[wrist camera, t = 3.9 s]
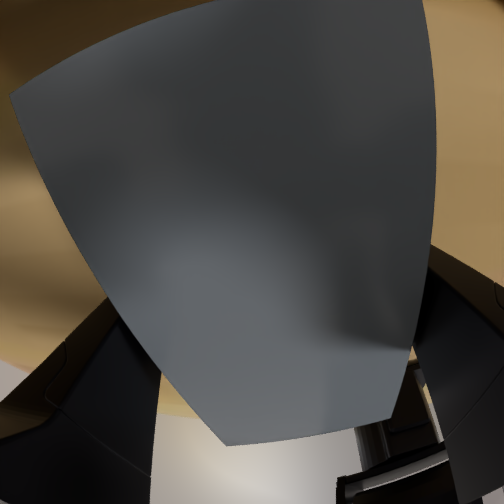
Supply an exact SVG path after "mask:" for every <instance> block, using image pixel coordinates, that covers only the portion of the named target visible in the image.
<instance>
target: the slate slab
mask: <svg viewBox="0 0 504 504" xmlns="http://www.w3.org/2000/svg"><path fill="white" fill-rule="evenodd" d="M9 97H10V99H11V102H12V105H13V108H14V111H15V114H16V116H17V119H18V122H19V124H20V127H21V130H22V132H23V135H24V137H25V140H26V142H27V145H28V147H29V150H30V152H31V154H32V157H33V159H34V161H35V163H36V166H37V168H38V170H39V172H40V175H41V177H42V179H43V181H44V183H45V185H46V187H47V190H48V192H49V194H50V196H51V198H52V200H53V202H54V204H55V206H56V208H57V210H58V212H59V214H60V216H61V217H62V219H63V221H64V223H65V225H66V227H67V229H68V231H69V232H70V234H71V236H72V238H73V240H74V241H75V243H76V245H77V247H78V249H79V250H80V252H81V254H82V256H83V257H84V259H85V261H86V262H87V264H88V266H89V267H90V269H91V271H92V272H93V274H94V276H95V277H96V279H97V280H98V282H99V284H100V285H101V287H102V288H103V290H104V292H105V293H106V295H107V296H108V298H109V299H110V301H111V302H112V304H113V305H114V307H115V308H116V310H117V311H118V313H119V314H120V316H121V317H122V319H123V320H124V322H125V323H126V324H127V326H128V327H129V329H130V330H131V332H132V333H133V334H134V336H135V337H136V339H137V340H138V341H139V343H140V344H141V345H142V347H143V348H144V349H145V351H146V352H147V353H148V355H149V356H150V357H151V359H152V360H153V361H154V363H155V364H156V365H157V367H158V368H159V369H160V370H161V372H162V373H163V374H164V376H165V377H166V378H167V379H168V381H169V382H170V383H171V384H172V385H173V387H174V388H175V389H176V390H177V392H178V393H179V394H180V395H181V396H182V398H183V399H184V400H185V401H186V402H187V403H188V405H189V406H190V407H191V408H192V409H193V410H194V412H195V413H196V414H197V415H198V416H199V417H200V418H201V419H202V421H203V422H204V423H205V424H206V425H207V426H208V427H209V428H210V429H211V431H212V432H213V433H214V434H215V435H216V436H217V437H218V438H219V439H220V440H221V441H222V442H223V443H224V444H225V445H226V446H236V445H247V444H258V443H267V442H275V441H283V440H290V439H297V438H303V437H309V436H314V435H320V434H325V433H330V432H335V431H340V430H345V429H349V428H354V427H358V426H362V425H366V424H370V423H374V422H378V421H382V420H385V419H389V418H391V415H392V412H393V410H394V406H395V403H396V400H397V397H398V394H399V391H400V387H401V384H402V381H403V377H404V374H405V370H406V367H407V363H408V359H409V355H410V351H411V347H412V343H413V339H414V335H415V331H416V326H417V322H418V317H419V312H420V307H421V302H422V296H423V291H424V285H425V279H426V273H427V266H428V259H429V252H430V244H431V235H432V225H433V214H434V201H435V184H436V108H435V91H434V78H433V68H432V59H431V51H430V43H429V36H428V30H427V24H426V18H425V13H424V8H423V3H422V0H215V1H211V2H208V3H204V4H200V5H197V6H193V7H190V8H186V9H183V10H180V11H177V12H174V13H170V14H167V15H165V16H162V17H159V18H156V19H153V20H150V21H148V22H145V23H142V24H140V25H137V26H135V27H132V28H130V29H127V30H125V31H123V32H120V33H118V34H116V35H113V36H111V37H109V38H107V39H105V40H102V41H100V42H98V43H96V44H94V45H92V46H90V47H88V48H86V49H84V50H82V51H80V52H78V53H76V54H74V55H72V56H70V57H69V58H67V59H65V60H63V61H61V62H60V63H58V64H56V65H54V66H53V67H51V68H49V69H48V70H46V71H44V72H43V73H41V74H39V75H38V76H36V77H35V78H33V79H31V80H30V81H28V82H27V83H25V84H24V85H22V86H21V87H19V88H18V89H16V90H15V91H13V92H12V93H11V94H9Z"/></svg>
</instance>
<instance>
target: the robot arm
mask: <svg viewBox="0 0 504 504" xmlns="http://www.w3.org/2000/svg"><path fill="white" fill-rule="evenodd" d="M412 346H413V348H414V351H415V354H416V356H417V359H418V362H419V364H417V365H413V366H409V367H406V370H405V374H404V377H403V381H402V384H401V387H400V391H399V394H398V397H397V400H396V403H395V406H394V410H393V412H392V415H391V418H389V419H385V420H382V421H378V422H374V423H370V424H366V425H362V426H358V427H354V431H355V435H356V440H357V445H358V450H359V455H360V461H361V465H362V471H363V472H360V473H356V474H353V475H349V476H346V475H345V476H341V477H338V478H337V482H336V484H337V487H336V504H483V500H482V496H484V495H486V494H488V493H490V492H492V491H494V490H496V489H498V488H500V487H502V488H503V492H504V287H502V286H501V285H499V284H498V283H496V282H495V283H494V281H493V280H491V279H489V278H488V277H486V276H485V275H483V274H481V273H480V272H478V271H476V270H475V269H473V268H471V267H470V266H468V265H466V264H465V263H463V262H461V261H459V260H458V259H456V258H454V257H453V256H451V255H449V254H447V253H446V252H444V251H442V250H440V249H438V248H437V247H435V246H433V245H431V244H430V252H429V259H428V266H427V273H426V279H425V285H424V291H423V296H422V302H421V307H420V312H419V317H418V322H417V326H416V331H415V335H414V339H413V343H412ZM161 373H162V372H161V370H160V369H159V368H158V367H157V365H156V364H155V363H154V361H153V360H152V359H151V357H150V356H149V355H148V353H147V352H146V351H145V349H144V348H143V347H142V345H141V344H140V343H139V341H138V340H137V339H136V337H135V336H134V334H133V333H132V332H131V330H130V329H129V327H128V326H127V324H126V323H125V322H124V320H123V319H122V317H121V316H120V314H119V313H118V311H117V310H116V308H115V307H114V305H113V304H112V302H111V301H110V299H109V298H108V297H107V298H106V299H105V300H104V301H103V302H102V303H101V304H100V305H99V306H98V307H97V308H96V309H95V310H94V311H93V312H92V313H91V314H90V315H89V316H88V317H87V318H86V319H85V320H84V321H83V322H82V323H81V324H80V325H79V326H78V327H77V328H76V329H75V330H74V331H73V332H72V333H71V334H70V335H69V336H68V337H67V338H66V339H65V341H63V342H62V343H61V344H60V345H59V346H58V347H57V348H56V349H55V350H54V351H53V352H52V353H51V354H50V355H49V356H48V357H47V358H46V359H45V360H44V361H43V362H42V363H41V364H40V365H39V366H38V367H37V368H36V369H35V370H34V371H33V372H32V373H31V374H30V375H29V376H28V377H27V378H26V379H24V380H23V381H22V382H21V383H20V384H19V385H18V386H17V387H16V388H15V389H14V390H13V391H12V392H11V393H10V394H9V395H8V396H6V397H5V398H4V399H3V400H2V401H1V402H0V504H150V486H151V477H150V476H151V469H152V456H153V444H154V434H155V424H156V414H157V405H158V397H159V388H160V380H161ZM425 383H426V384H427V387H428V390H429V393H430V396H431V399H432V402H433V405H434V409H435V412H436V415H437V418H438V422H439V425H440V428H441V432H442V435H443V438H444V441H443V442H440V439H439V436H438V432H437V430H436V426H435V423H434V420H433V417H432V414H431V411H430V408H429V405H428V402H427V400H426V397H425V394H424V391H423V387H424V385H425ZM448 458H449V460H448V461H445V462H443V463H441V464H439V465H437V466H434V467H432V468H429V469H427V470H425V471H422V472H419V473H417V474H414V475H411V476H409V477H406V478H403V479H400V480H397V481H395V482H391V483H388V484H385V485H382V486H379V487H376V488H372V489H369V490H366V491H364V490H363V489H366V488H369V487H372V486H376V485H379V484H382V483H385V482H388V481H391V480H394V479H397V478H400V477H403V476H406V475H408V474H411V473H414V472H416V471H419V470H421V469H424V468H426V467H429V466H431V465H434V464H436V463H438V462H441V461H443V460H445V459H448Z"/></svg>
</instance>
